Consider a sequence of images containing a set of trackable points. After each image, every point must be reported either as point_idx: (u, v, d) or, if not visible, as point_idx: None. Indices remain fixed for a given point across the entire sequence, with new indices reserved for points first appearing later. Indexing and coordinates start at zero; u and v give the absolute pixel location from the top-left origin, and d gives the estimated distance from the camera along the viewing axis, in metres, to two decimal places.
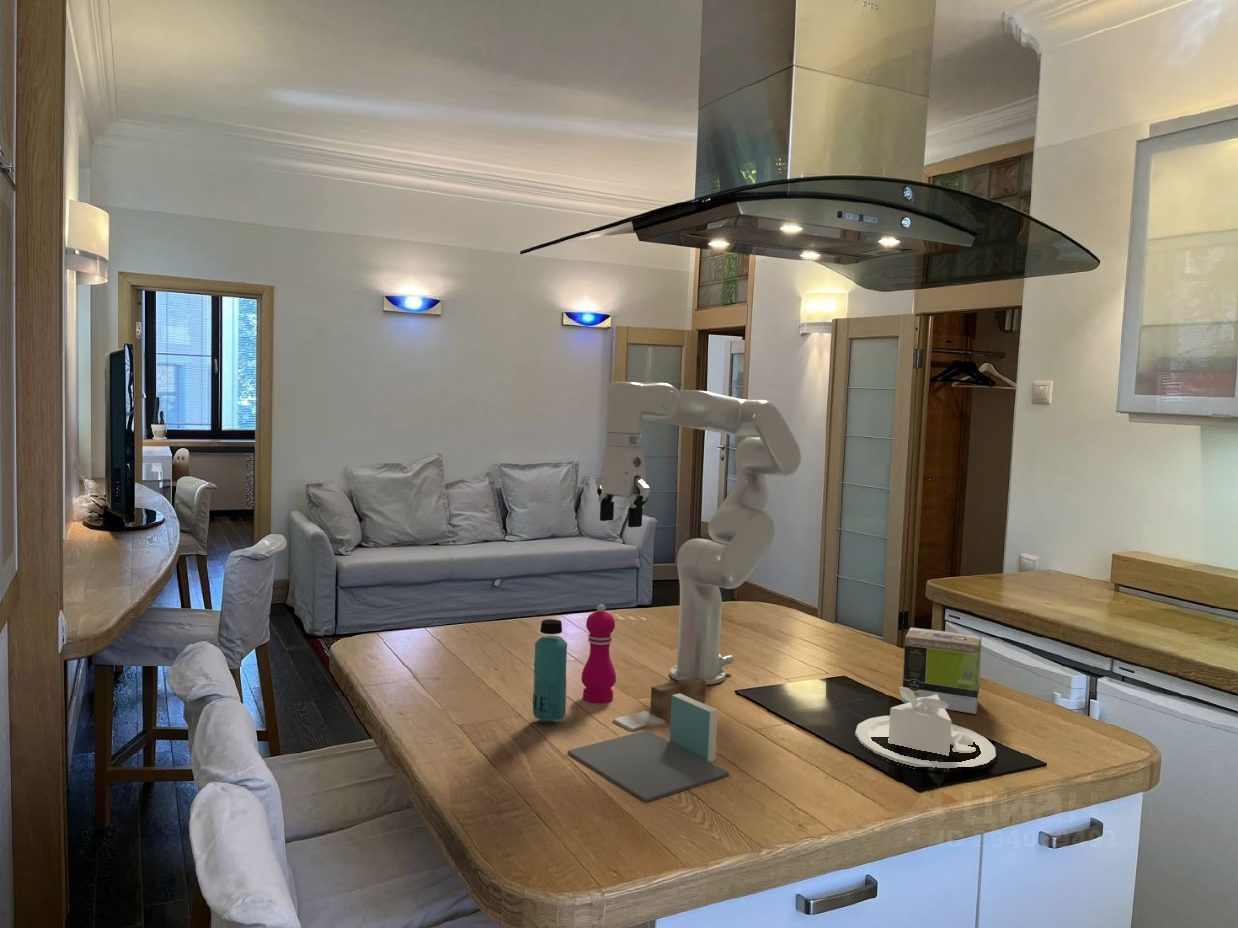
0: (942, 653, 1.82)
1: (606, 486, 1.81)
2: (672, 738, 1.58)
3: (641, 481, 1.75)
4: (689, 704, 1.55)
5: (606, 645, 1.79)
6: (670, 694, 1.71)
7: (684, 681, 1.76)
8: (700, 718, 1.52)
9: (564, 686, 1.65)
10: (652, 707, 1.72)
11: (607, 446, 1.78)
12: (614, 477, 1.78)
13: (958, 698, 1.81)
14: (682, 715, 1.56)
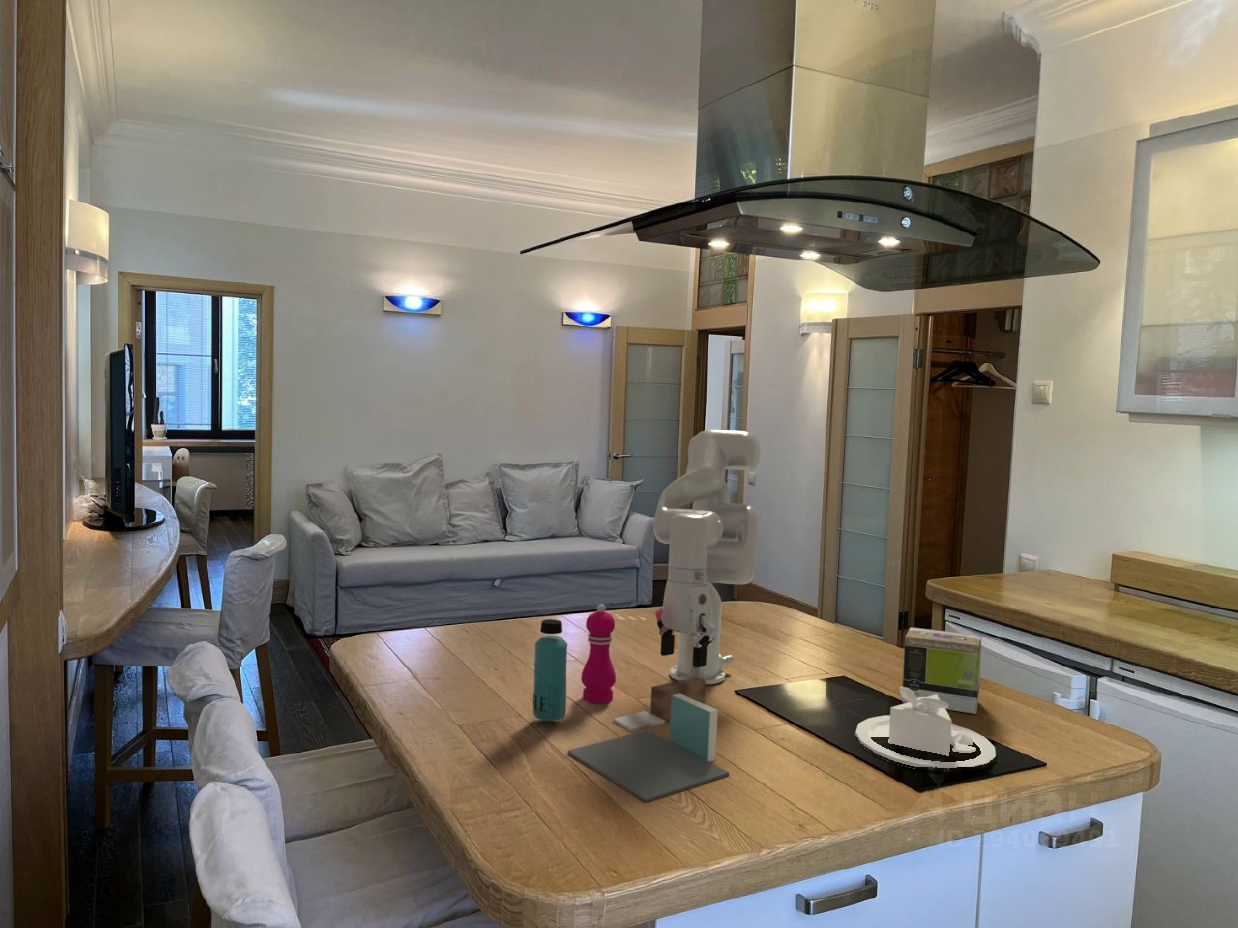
0: (942, 653, 1.82)
1: (669, 621, 1.74)
2: (672, 738, 1.58)
3: (707, 620, 1.68)
4: (689, 704, 1.55)
5: (606, 645, 1.79)
6: (670, 694, 1.71)
7: (684, 681, 1.76)
8: (700, 718, 1.52)
9: (564, 686, 1.65)
10: (652, 707, 1.72)
11: (671, 581, 1.71)
12: (678, 613, 1.71)
13: (958, 698, 1.81)
14: (682, 715, 1.56)
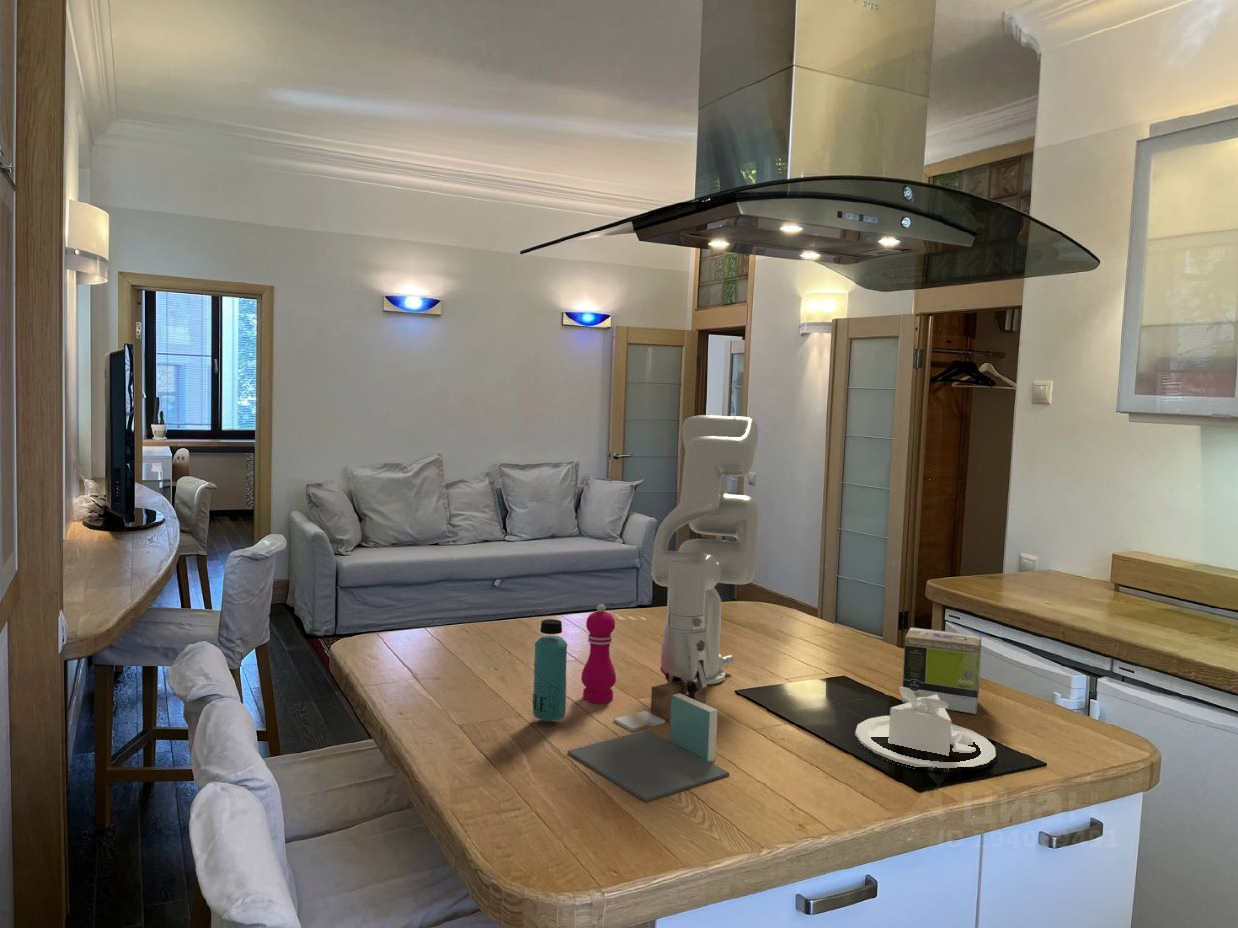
0: (942, 653, 1.82)
1: (667, 666, 1.75)
2: (672, 738, 1.58)
3: (701, 673, 1.70)
4: (689, 704, 1.55)
5: (606, 645, 1.79)
6: (670, 693, 1.71)
7: None
8: (700, 718, 1.52)
9: (564, 686, 1.65)
10: (653, 707, 1.72)
11: (669, 627, 1.72)
12: (676, 659, 1.73)
13: (958, 698, 1.81)
14: (682, 715, 1.56)
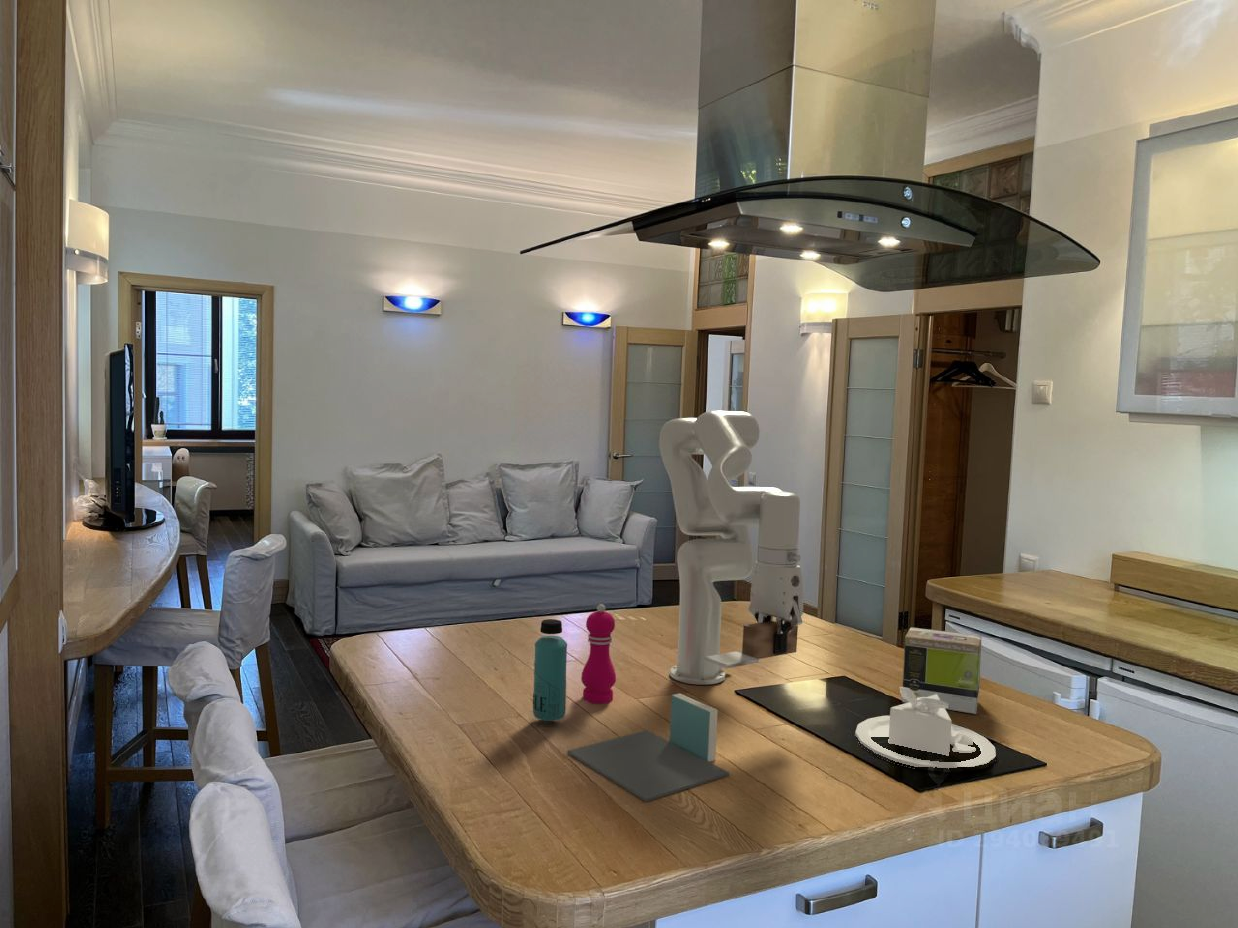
0: (942, 653, 1.82)
1: (758, 604, 1.67)
2: (672, 738, 1.58)
3: (796, 609, 1.62)
4: (689, 704, 1.55)
5: (606, 645, 1.79)
6: (763, 632, 1.63)
7: None
8: (700, 718, 1.52)
9: (564, 686, 1.65)
10: (745, 647, 1.63)
11: (761, 562, 1.64)
12: (769, 596, 1.64)
13: (958, 698, 1.81)
14: (682, 715, 1.56)
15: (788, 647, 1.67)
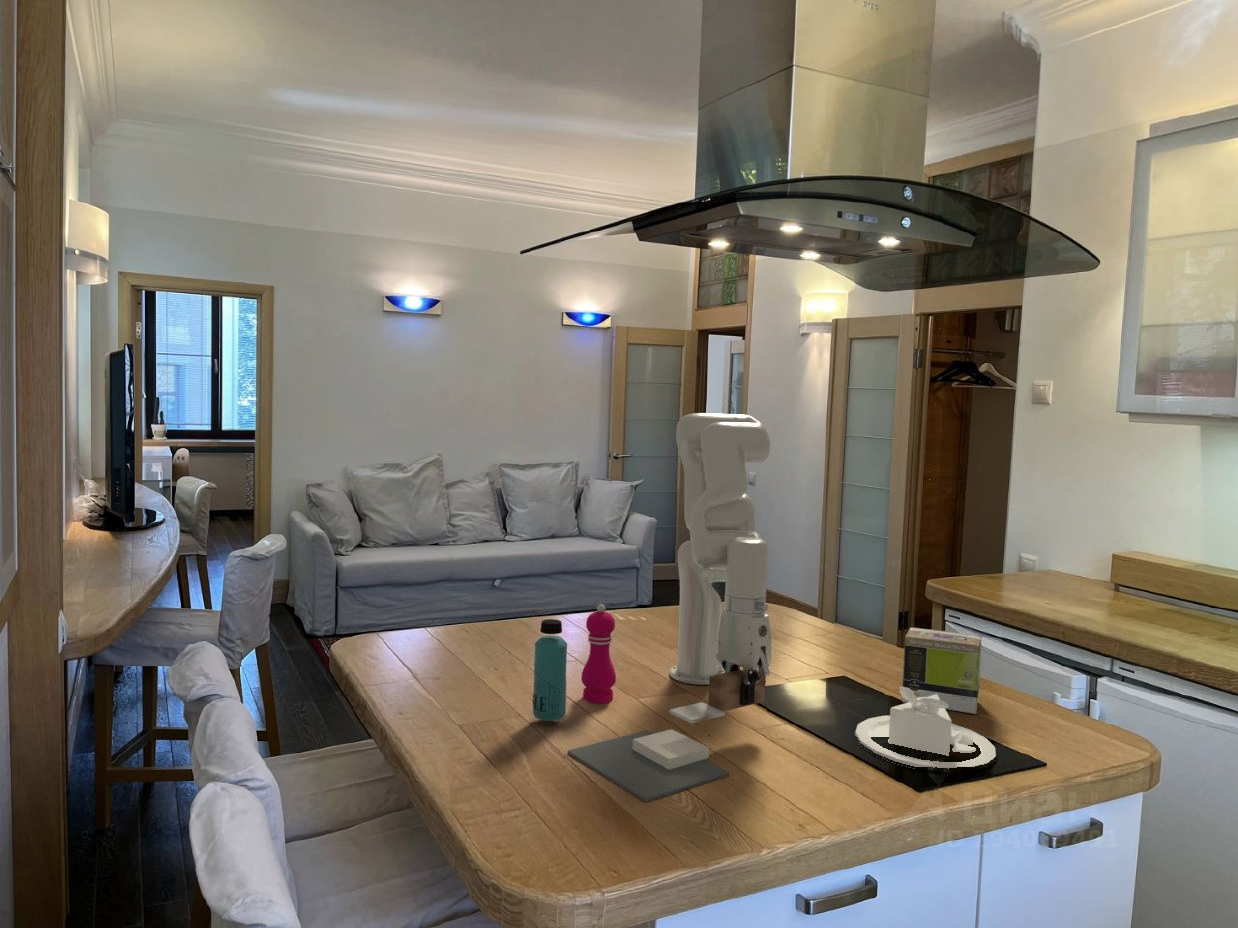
0: (942, 653, 1.82)
1: (725, 653, 1.62)
2: None
3: (764, 660, 1.57)
4: (650, 759, 1.50)
5: (606, 645, 1.79)
6: (730, 683, 1.58)
7: None
8: None
9: (564, 686, 1.65)
10: (711, 698, 1.59)
11: (728, 611, 1.59)
12: (735, 645, 1.60)
13: (958, 698, 1.81)
14: None
15: (756, 697, 1.63)
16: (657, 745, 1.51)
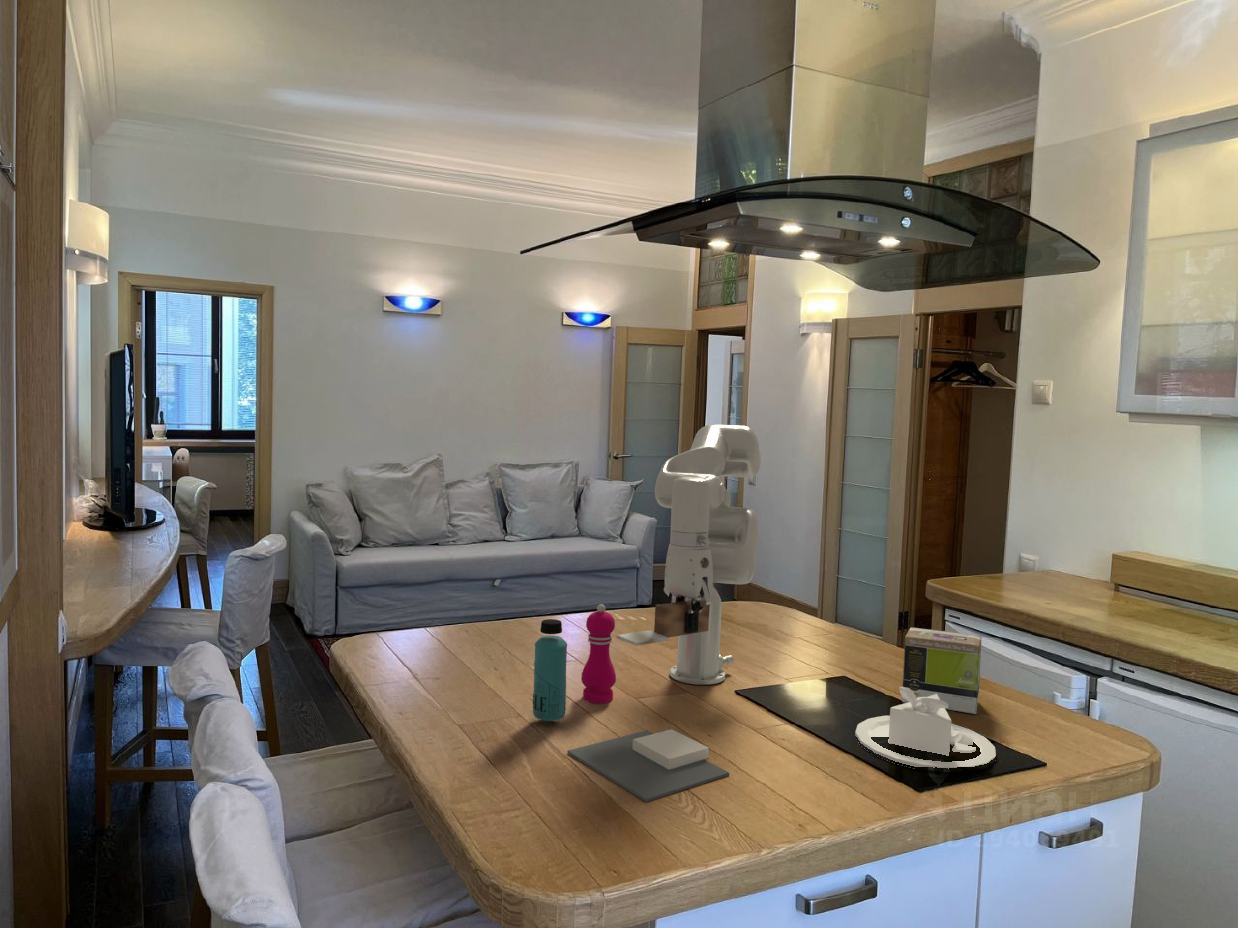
0: (942, 653, 1.82)
1: (671, 585, 1.74)
2: None
3: (705, 590, 1.69)
4: (650, 759, 1.50)
5: (606, 645, 1.79)
6: (674, 612, 1.70)
7: None
8: None
9: (564, 686, 1.65)
10: (656, 626, 1.70)
11: (673, 545, 1.71)
12: (680, 577, 1.71)
13: (958, 698, 1.81)
14: None
15: (700, 626, 1.75)
16: (657, 745, 1.51)
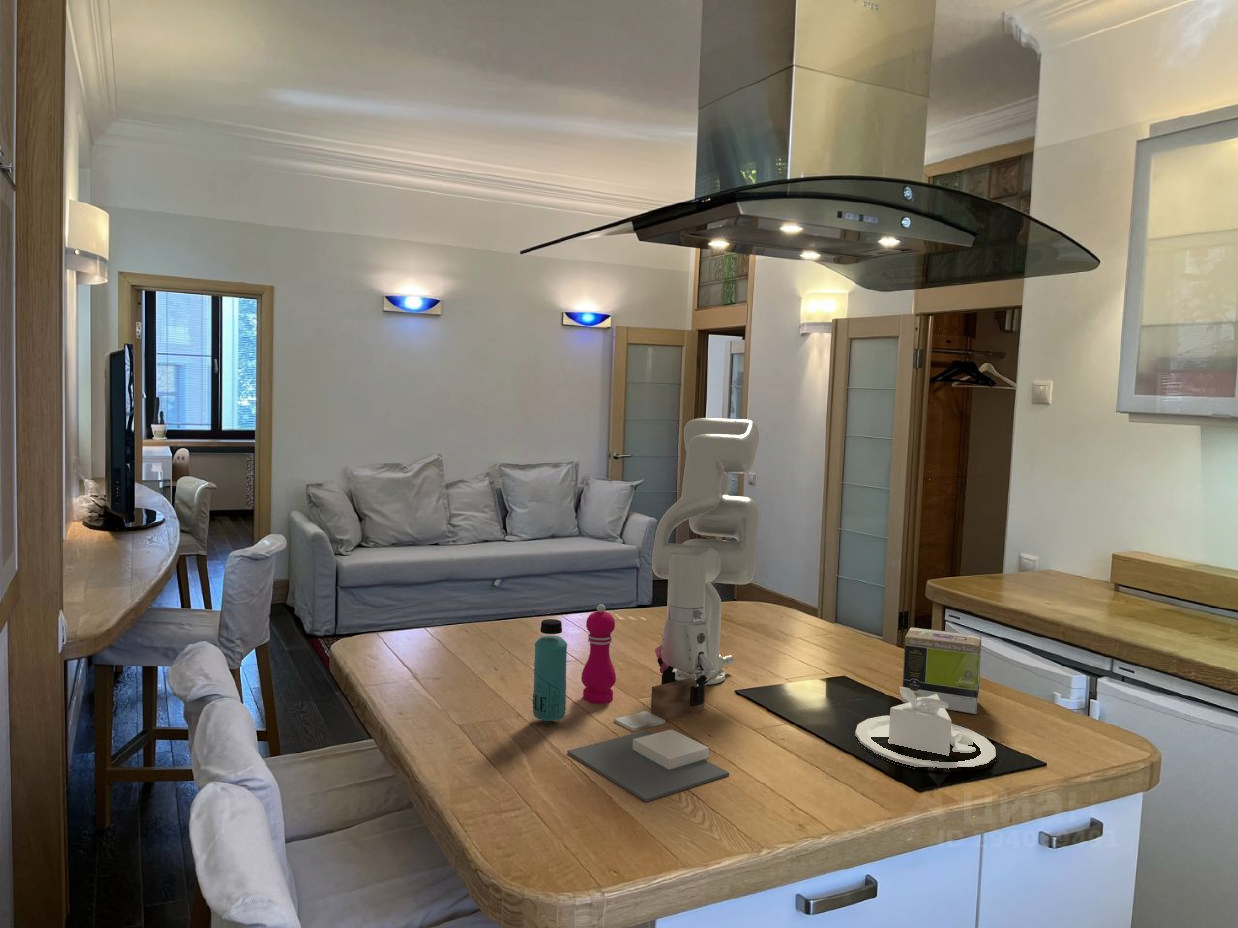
0: (942, 653, 1.82)
1: (668, 658, 1.75)
2: None
3: (705, 660, 1.69)
4: (650, 759, 1.50)
5: (606, 645, 1.79)
6: (671, 693, 1.71)
7: (684, 680, 1.76)
8: None
9: (564, 686, 1.65)
10: (653, 707, 1.72)
11: (669, 619, 1.72)
12: (676, 651, 1.72)
13: (958, 698, 1.81)
14: None
15: None
16: (657, 745, 1.51)
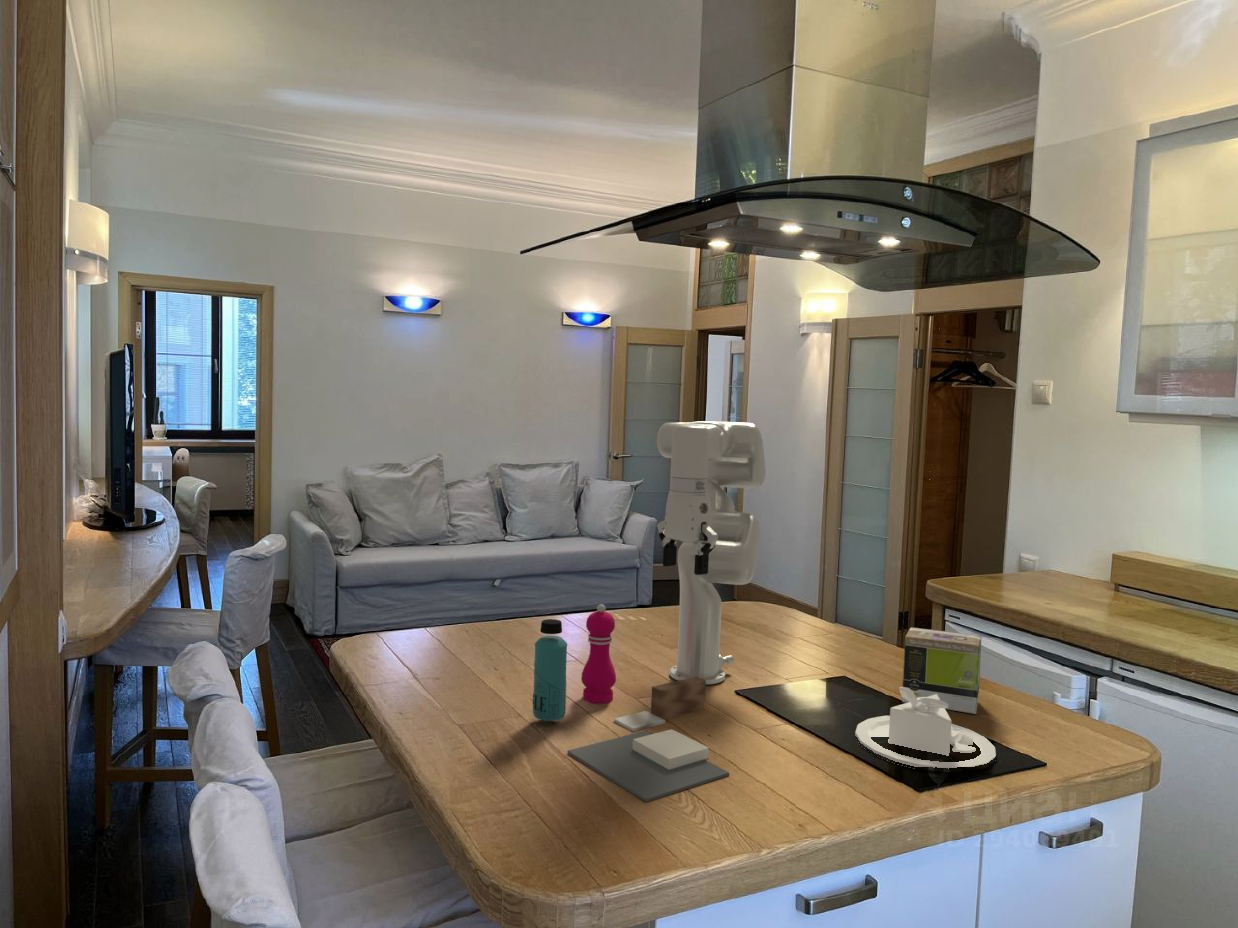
0: (942, 653, 1.82)
1: (671, 532, 1.77)
2: None
3: (708, 528, 1.71)
4: (650, 759, 1.50)
5: (606, 645, 1.79)
6: (671, 693, 1.71)
7: (685, 680, 1.76)
8: None
9: (564, 686, 1.65)
10: (653, 707, 1.72)
11: (672, 491, 1.74)
12: (679, 523, 1.74)
13: (958, 698, 1.81)
14: None
15: (696, 705, 1.76)
16: (657, 745, 1.51)
